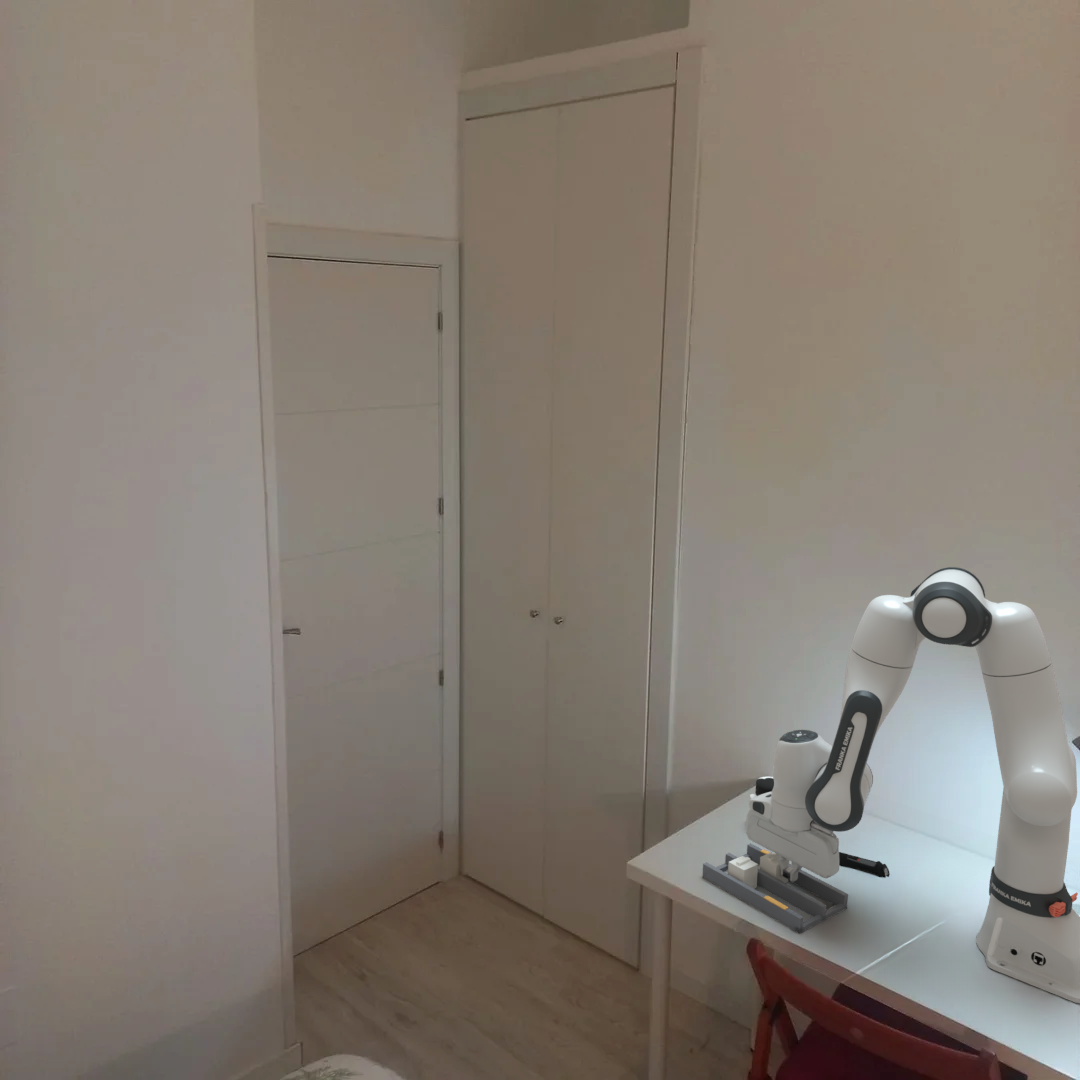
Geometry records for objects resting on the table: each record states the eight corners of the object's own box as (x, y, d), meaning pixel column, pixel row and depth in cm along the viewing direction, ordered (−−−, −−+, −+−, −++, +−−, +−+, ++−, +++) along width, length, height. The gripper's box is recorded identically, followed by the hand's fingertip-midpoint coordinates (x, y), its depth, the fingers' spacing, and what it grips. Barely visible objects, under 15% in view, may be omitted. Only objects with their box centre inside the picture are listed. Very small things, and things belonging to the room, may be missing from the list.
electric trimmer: (814, 854, 216) (815, 841, 216) (890, 875, 208) (891, 860, 208) (809, 862, 213) (809, 848, 212) (885, 883, 205) (886, 868, 204)
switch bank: (846, 911, 194) (848, 893, 194) (798, 936, 186) (800, 917, 185) (749, 859, 213) (750, 842, 212) (702, 880, 205) (703, 862, 204)
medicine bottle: (787, 839, 222) (790, 787, 219) (754, 839, 222) (757, 787, 219) (779, 823, 229) (782, 773, 226) (747, 823, 229) (750, 773, 226)
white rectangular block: (788, 882, 203) (789, 856, 202) (774, 888, 201) (776, 862, 199) (772, 873, 206) (773, 848, 205) (758, 880, 204) (760, 854, 203)
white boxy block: (756, 887, 201) (758, 861, 200) (742, 894, 199) (744, 867, 197) (741, 878, 204) (742, 853, 203) (727, 885, 202) (728, 859, 201)
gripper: (849, 828, 191) (843, 896, 194) (763, 789, 207) (759, 852, 209) (828, 838, 187) (822, 907, 190) (742, 797, 203) (738, 861, 206)
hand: (789, 878), depth 200 cm, fingers closed
